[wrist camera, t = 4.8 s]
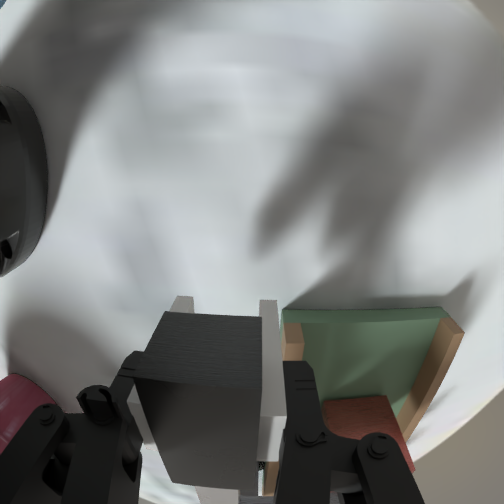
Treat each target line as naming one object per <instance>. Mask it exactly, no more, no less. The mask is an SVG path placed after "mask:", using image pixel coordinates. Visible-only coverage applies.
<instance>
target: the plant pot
mask: <svg viewBox="0 0 504 504" xmlns="http://www.w3.org/2000/svg"><path fill="white" fill-rule="evenodd" d="M45 403H52V404H56V403H55V401H54V400H53V399H52V398H51V397H50V396H49V395H48V394H47V393H46V392H45V391H44V390H42V389H41V388H40V387H39V386H37V385H36V384H35V383H34V382H32V381H31V380H29V379H27V378H25V377H23V376H21V375H18V374H10V375H8V376H7V377H5V378H4V379H2V380H1V381H0V455H1V453H2V452H3V450H4V449H5V448H6V446H7V445H8V444H9V442H10V441H11V439H12V438H13V437H14V435H15V434H16V433H17V431H18V430H19V429H20V427H21V426H22V425H23V423H24V422H25V421H26V419H27V418H28V417H29V416H30V414H31V413H32V412H33V410H34V409H36V408H37V407H38V406H40V405H42V404H45ZM56 405H57V404H56Z"/></svg>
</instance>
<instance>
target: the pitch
mask: <svg viewBox="0 0 504 504" xmlns="http://www.w3.org/2000/svg"><path fill="white" fill-rule="evenodd" d="M464 333H465V332H464V331H463V330H462V329H461V328H460V327H459V326H458V325H457V323H456V322H455V321H454V320H453V319H452V318H451V317H450V316H449V315H448V313H447V312H446V311H445V310H444V309H443V308H442V307H429V308H408V309H377V310H282V315H281V325H280V340H281V351H282V361H307V362H308V364H309V365H310V366H311V367H312V369H313V371H314V376H315V382H316V386H317V391H318V396H319V401H320V406H321V409H322V406H323V403H324V401H329V400H344V399H356V398H366V397H375V396H383V395H387V398H388V400H389V402H390V405H391V407H392V410H393V412H394V415H395V417H396V420H397V422H398V425H399V427H400V430H401V432H402V435H403V438H404V440H405V443H406V441H407V440H408V438H409V437H410V435H411V434H412V432H413V431H414V429H415V428H416V426H417V425H418V423H419V422H420V420H421V418H422V417H423V415H424V413H425V412H426V410H427V408H428V407H429V405H430V403H431V401H432V400H433V398H434V396H435V394H436V392H437V390H438V389H439V387H440V385H441V383H442V381H443V379H444V377H445V375H446V373H447V371H448V369H449V367H450V365H451V363H452V361H453V359H454V356H455V354H456V352H457V350H458V347H459V345H460V343H461V340H462V338H463V336H464ZM258 466H259V461H256V470H255V480H254V490H240V496H258ZM278 470H279V459H278V461H265V464H264V471H263V478H262V496H274V492H275V487H276V479H277V474H278Z"/></svg>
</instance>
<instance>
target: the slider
mask: <svg viewBox="0 0 504 504" xmlns="http://www.w3.org/2000/svg"><path fill="white" fill-rule="evenodd" d="M132 377H133V381H134V384H135V387H136V390H137V394H138V397H139V400H140V403H141V406H142V409H143V412H144V414H145V417H146V420H147V423H148V425H149V428H150V431H151V433H152V436H153V439H154V441H155V444H156V446H157V449H158V451H159V454H160V456H161V458H162V461H163V463H164V465H165V468H166V470H167V472H168V474H169V477H170V479H171V481H172V482H173V483H179V484H185V485H192V486H195V489H196V492H197V494H198V497H199V500H200V503H201V504H272V503H273V498H274V496H240V490H254V480H255V470H256V459H257V447H258V436H259V424H260V411H261V399H262V317H254V316H230V315H211V314H195V313H181V312H168V311H165V312H164V314H163V316H162V318H161V320H160V321H159V323H158V325H157V327H156V329H155V331H154V333H153V335H152V337H151V339H150V341H149V343H148V345H147V347H146V349H145V351H144V353H143V355H142V357H141V359H140V361H139V363H138V365H137V367H136V369H135V371H134V373H133V375H132ZM321 411H322V417H323V421H324V424H325V425H326V427H327V428H328V429H329V430H330V431H331V432H332V433H334V434H336V435H338V436H341V437H345V438H351V439H358V440H361V439H362V438H363V437H364V436H365V435H367V434H370V433H374V432H381V433H385V434H388V435H390V436H391V437H393V438H394V439H395V440H396V442H397V443H398V445H399V447H400V449H401V451H402V453H403V456H404V458H405V460H406V462H407V464H408V466H409V469H410V471H411V473H413V472H414V471H415V467H414V465H413V462H412V459H411V456H410V454H409V451H408V448H407V446H406V443H405V440H404V438H403V435H402V432H401V430H400V427H399V425H398V422H397V420H396V417H395V415H394V412H393V410H392V407H391V405H390V402H389V400H388V398H387V395H383V396H375V397H366V398H356V399H344V400H329V401H324V403H323V406H322V409H321ZM330 504H340V502H339V499H338V495H337V492H333V491H330Z"/></svg>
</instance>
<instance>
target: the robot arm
mask: <svg viewBox="0 0 504 504" xmlns="http://www.w3.org/2000/svg"><path fill="white" fill-rule="evenodd" d="M5 2H6V0H0V9H1V7H2V6H3V5H4V3H5ZM46 202H47V162H46V153H45V147H44V142H43V137H42V133H41V129H40V126H39V123H38V120H37V118H36V115H35V113H34V111H33V109H32V107H31V106H30V104H29V103H28V101H27V100H26V99H25V97H24V96H23V95H22V94H20V93H19V92H18V91H16V90H15V89H13V88H10V87H6V86H0V277H3V276H4V275H6V274H8V273H9V272H11V271H12V270H14V269H15V268H17V267H18V266H20V265H21V264H22V263H23V262H25V261H26V259H27V258H28V257H29V256H30V254H31V253H32V251H33V250H34V248H35V246H36V244H37V241H38V239H39V236H40V233H41V230H42V226H43V222H44V216H45V210H46ZM169 312H181V313H194V302H193V297H190V296H177V297H176V299H175V301H174V303H173V305H172V307H171V309H170V311H169ZM259 317H262V399H261V411H260V424H259V436H258V447H257V459H256V461H278V459H279V470H278V474H277V479H276V487H275V492H274V498H273V503H272V504H330V491H333V492H337V495H338V499H339V502H340V504H425V503H424V500H423V498H422V496H421V493H420V491H419V489H418V487H417V484H416V482H415V480H414V478H413V475H412V473H411V471H410V469H409V466H408V464H407V462H406V460H405V458H404V456H403V453H402V451H401V449H400V447H399V445H398V443H397V442H396V440H395V439H394V438H393V437H391V436H390V435H388V434H385V433H381V432H374V433H370V434H367V435H365V436H364V437H363V438H362V439H361V440H358V439H351V438H345V437H341V436H338V435H336V434H334V433H332V432H331V431H330V430H329V429H328V428H327V427H326V425H325V424H324V421H323V417H322V411H321V406H320V401H319V396H318V391H317V386H316V382H315V376H314V371H313V369H312V367H311V366H310V365H309V364H308V362H307V361H282V351H281V340H280V329H279V318H278V308H277V300H260V307H259ZM143 353H144V352H142V351H134V352H132V353H131V354H130V355H129V356H128V357H126V358H125V360H124V362H123V364H122V366H121V369H119V371H118V373H117V376H116V377H115V379H114V381H113V382H112V384H111V386H110V388H108V387H106V386H102V385H93V386H90V387H87V388H85V389H84V390H82V391H81V392H80V393H79V394H78V396H77V397H76V398H77V400H78V402H79V404H80V406H81V408H82V410H83V411H84V413H81V414H68V413H63V411H62V409H61V408H60V407H59V406H58V405H56V404H52V403H45V404H42V405H40V406H38V407H37V408H36V409H34V410H33V412H32V413H31V414H30V416H29V417H28V418H27V419H26V421H25V422H24V423H23V425H22V426H21V427H20V429H19V430H18V431H17V433H16V434H15V435H14V437H13V438H12V439H11V441H10V442H9V444H8V445H7V446H6V448H5V449H4V450H3V452H2V453H1V455H0V504H138V499H139V488H140V478H141V468H142V454H141V452H140V449H141V446H142V443H144V445H145V447H146V449H149V450H154V451H158V449H157V446H156V444H155V441H154V439H153V436H152V433H151V431H150V428H149V425H148V423H147V420H146V417H145V414H144V412H143V409H142V406H141V403H140V400H139V397H138V394H137V390H136V387H135V384H134V381H133V377H132V375H133V373H134V371H135V369H136V367H137V365H138V363H139V361H140V359H141V357H142V355H143Z"/></svg>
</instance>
